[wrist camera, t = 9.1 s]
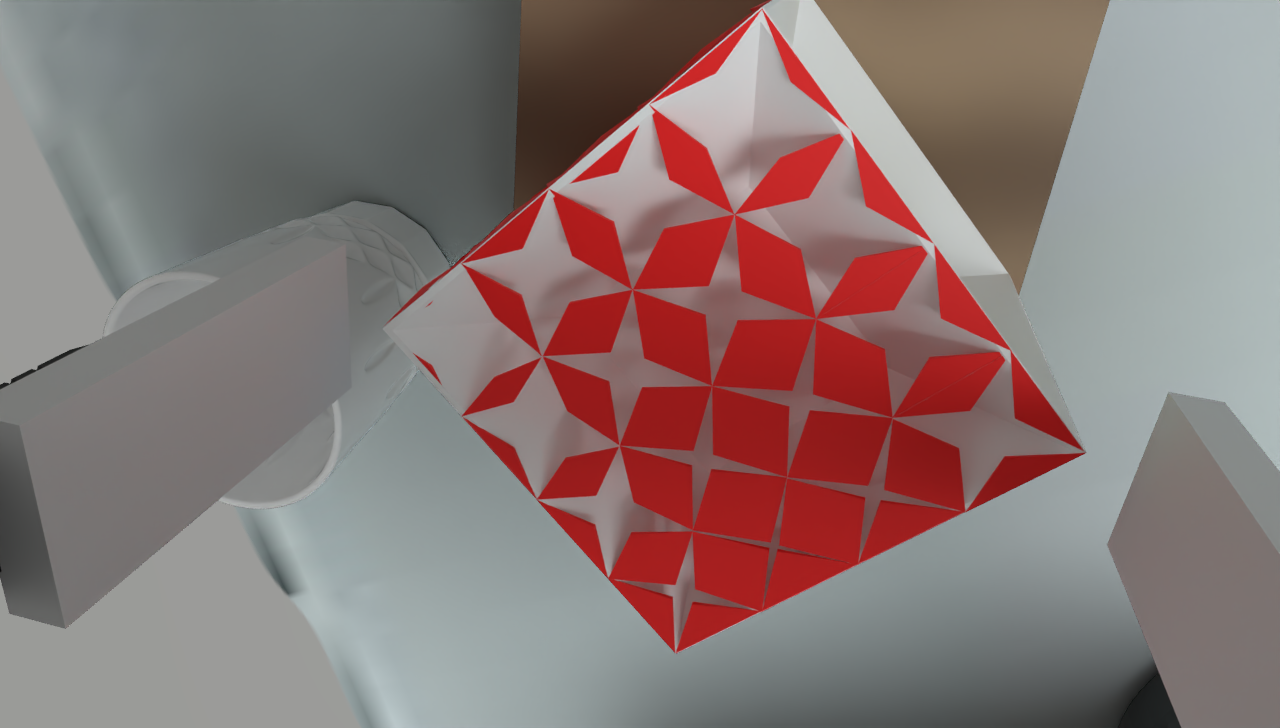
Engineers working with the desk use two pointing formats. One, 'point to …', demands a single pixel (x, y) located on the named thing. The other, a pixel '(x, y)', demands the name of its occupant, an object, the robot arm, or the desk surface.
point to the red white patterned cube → (744, 337)
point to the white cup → (377, 289)
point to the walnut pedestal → (888, 53)
